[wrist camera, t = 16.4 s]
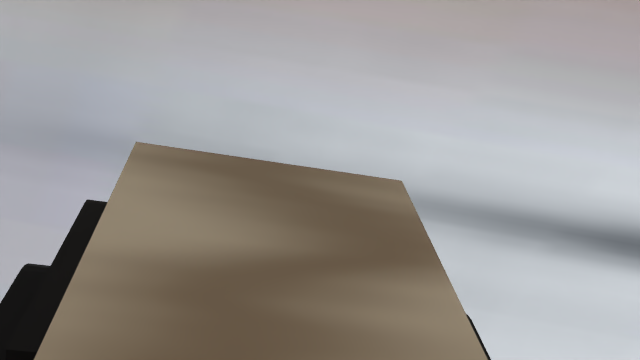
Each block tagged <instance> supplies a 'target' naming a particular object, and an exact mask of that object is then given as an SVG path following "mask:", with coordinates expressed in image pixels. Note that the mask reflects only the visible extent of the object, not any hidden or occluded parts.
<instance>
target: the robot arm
mask: <svg viewBox="0 0 640 360" xmlns="http://www.w3.org/2000/svg"><path fill="white" fill-rule="evenodd" d="M107 203H108V202H102V201H94V200H86V202H85V203H84V205H83V207H82V209H81V211H80V213H79V214H78V216H77V218H76V220H75V222H74V224H73V226H72V227H71V229H70V231H69V233H68V235H67V237H66V238H65V240H64V242H63V244H62V246H61V248H60V250H59V251H58V253H57V255H56V257H55V259H54V261H53V263H52V264H51V266H46V265H37V264H26V265H24V267H23V268H22V269H21V270H20V272H19V274H18V275H17V277H16V279H15V280H14V282H13V283H12V285H11V287H10V288H9V290H8V292H7V293H6V295H5V297H4V298H3V300H2V301H1V303H0V360H34V358H35V356H36V354H37V352H38V350H39V348H40V345H41V343H42V341H43V339H44V337H45V335H46V333H47V331H48V328H49V326H50V324H51V322H52V320H53V318H54V316H55V314H56V311H57V309H58V307H59V305H60V303H61V301H62V299H63V296H64V294H65V292H66V290H67V288H68V286H69V284H70V282H71V279H72V277H73V275H74V273H75V271H76V269H77V267H78V265H79V262H80V260H81V258H82V256H83V254H84V252H85V250H86V247H87V245H88V243H89V241H90V239H91V237H92V235H93V233H94V230H95V228H96V226H97V224H98V222H99V220H100V218H101V216H102V213H103V211H104V209H105V207H106V205H107ZM466 315H467V314H466ZM467 318H468V320H469V322H470V324H471V326H472V328H473V330H474V332H475V334H476V336H477V338H478V340H479V342H480V345H481V347H482V349H483V351H484V353H485V355H486V357H487V359H488V360H491V359H490V357H489V355H488V353H487V351H486V349H485V347H484V345H483V343H482V341H481V339H480V336H479V334H478V332H477V330H476V328H475V326H474V324H473V322H472V320H471V319H470V317H469V316H468V315H467Z"/></svg>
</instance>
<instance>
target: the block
mask: <svg viewBox="0 0 640 360" xmlns="http://www.w3.org/2000/svg"><path fill="white" fill-rule="evenodd" d="M34 360H488V359H487V357H486V355H485V353H484V351H483V349H482V347H481V345H480V342H479V340H478V338H477V336H476V334H475V332H474V330H473V328H472V326H471V324H470V322H469V320H468V318H467V315H466V313H465V311H464V309H463V307H462V305H461V303H460V301H459V299H458V297H457V295H456V293H455V291H454V289H453V286H452V284H451V282H450V280H449V278H448V276H447V274H446V272H445V270H444V268H443V266H442V264H441V262H440V259H439V257H438V255H437V253H436V251H435V249H434V247H433V245H432V243H431V241H430V239H429V237H428V235H427V232H426V230H425V228H424V226H423V224H422V222H421V220H420V218H419V216H418V214H417V212H416V210H415V208H414V206H413V203H412V201H411V199H410V197H409V195H408V193H407V191H406V189H405V187H404V185H403V183H402V181H399V180H392V179H386V178H379V177H372V176H365V175H358V174H351V173H345V172H338V171H331V170H324V169H317V168H311V167H304V166H297V165H290V164H283V163H276V162H270V161H263V160H256V159H249V158H242V157H236V156H229V155H222V154H215V153H208V152H201V151H195V150H188V149H181V148H174V147H167V146H161V145H154V144H147V143H140V142H136V143H135V145H134V147H133V150H132V152H131V154H130V156H129V158H128V160H127V162H126V164H125V167H124V169H123V171H122V173H121V175H120V177H119V179H118V181H117V184H116V186H115V188H114V190H113V192H112V194H111V196H110V199H109V201H108V203H107V205H106V207H105V209H104V211H103V213H102V216H101V218H100V220H99V222H98V224H97V226H96V228H95V230H94V233H93V235H92V237H91V239H90V241H89V243H88V245H87V247H86V250H85V252H84V254H83V256H82V258H81V260H80V262H79V265H78V267H77V269H76V271H75V273H74V275H73V277H72V279H71V282H70V284H69V286H68V288H67V290H66V292H65V294H64V296H63V299H62V301H61V303H60V305H59V307H58V309H57V311H56V314H55V316H54V318H53V320H52V322H51V324H50V326H49V328H48V331H47V333H46V335H45V337H44V339H43V341H42V343H41V345H40V348H39V350H38V352H37V354H36V356H35V358H34Z"/></svg>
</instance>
